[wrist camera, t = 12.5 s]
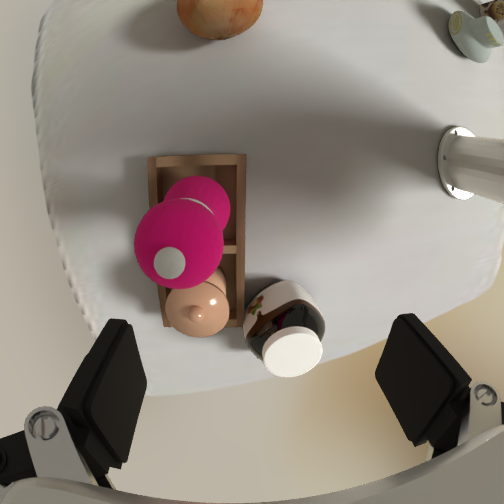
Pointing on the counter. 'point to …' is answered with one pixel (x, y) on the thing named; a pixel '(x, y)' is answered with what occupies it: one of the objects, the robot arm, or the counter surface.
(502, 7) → the coffee box
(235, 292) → the caddy
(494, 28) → the air freshener
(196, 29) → the onion
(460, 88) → the counter surface
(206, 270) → the pepper mill
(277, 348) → the spread jar
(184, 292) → the salt crock
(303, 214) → the counter surface
